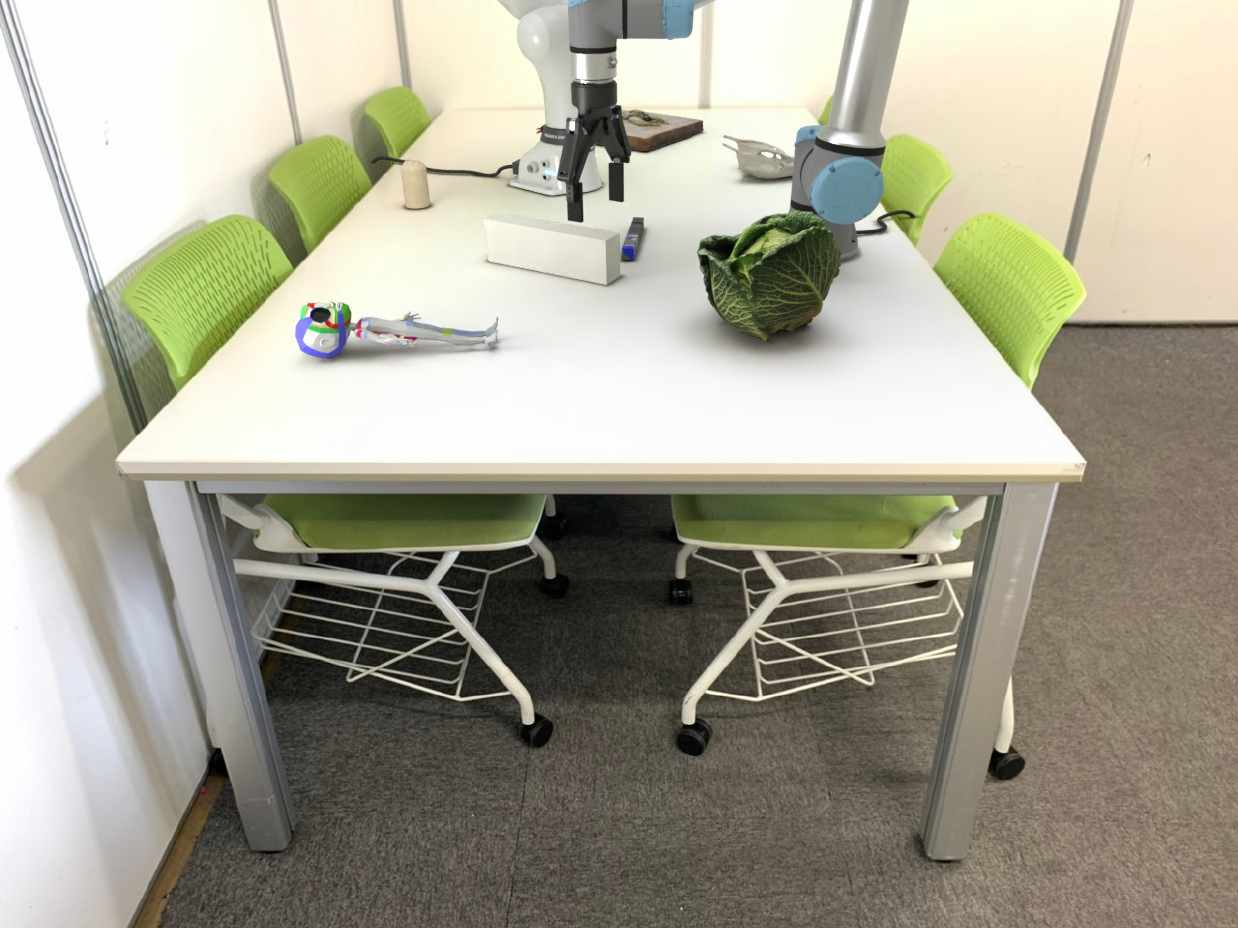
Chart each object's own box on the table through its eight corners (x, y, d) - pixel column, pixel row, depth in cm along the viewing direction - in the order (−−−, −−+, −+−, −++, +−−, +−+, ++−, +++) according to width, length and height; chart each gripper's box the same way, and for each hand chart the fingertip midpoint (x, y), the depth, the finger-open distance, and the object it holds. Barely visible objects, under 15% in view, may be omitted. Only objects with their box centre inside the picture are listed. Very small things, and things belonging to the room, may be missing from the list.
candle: (435, 203, 204) (429, 158, 199) (422, 209, 200) (416, 164, 194) (413, 201, 206) (407, 156, 200) (401, 207, 201) (394, 162, 196)
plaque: (647, 125, 237) (559, 112, 252) (647, 153, 241) (560, 139, 256) (706, 107, 258) (622, 97, 273) (705, 133, 262) (622, 121, 277)
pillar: (643, 217, 185) (633, 249, 169) (643, 227, 186) (633, 260, 170) (633, 217, 186) (621, 249, 169) (633, 227, 187) (622, 260, 170)
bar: (488, 261, 171) (484, 219, 167) (503, 253, 175) (500, 212, 170) (606, 285, 160) (605, 240, 155) (620, 276, 163) (620, 232, 159)
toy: (498, 328, 132) (286, 311, 128) (494, 379, 137) (289, 364, 132) (499, 302, 141) (300, 285, 136) (495, 351, 145) (303, 336, 140)
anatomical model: (724, 131, 223) (826, 130, 219) (723, 169, 228) (823, 168, 224) (720, 146, 210) (828, 145, 207) (720, 185, 215) (825, 185, 212)
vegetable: (729, 354, 150) (671, 251, 142) (822, 290, 151) (770, 184, 144) (780, 378, 132) (718, 261, 124) (885, 305, 133) (830, 185, 125)
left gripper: (641, -77, 175) (640, 2, 183) (587, -74, 160) (589, 12, 168) (670, -77, 173) (668, 3, 180) (617, -74, 158) (618, 14, 165)
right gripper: (571, 94, 134) (576, 233, 145) (651, 70, 152) (649, 195, 164) (530, 90, 137) (538, 226, 149) (613, 67, 155) (614, 190, 167)
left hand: (629, 8), depth 174 cm, fingers open, 8 cm apart
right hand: (596, 211), depth 156 cm, fingers open, 13 cm apart
